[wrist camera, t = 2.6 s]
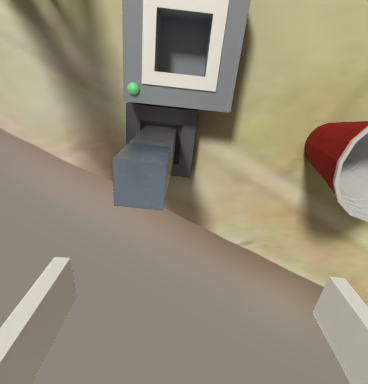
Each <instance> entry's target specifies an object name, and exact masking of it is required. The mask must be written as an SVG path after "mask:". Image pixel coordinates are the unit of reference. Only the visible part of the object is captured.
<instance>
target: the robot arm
mask: <svg viewBox="0 0 368 384" xmlns="http://www.w3.org/2000/svg"><path fill="white" fill-rule="evenodd" d="M76 298H77V295H76V289H75V283H74V277H73V271H72V266H71V260H70V258H62V257H54V259H53V260H52V261H51V263H50V264H49V265H48V266H47V268H46V269H45V270H44V272H43V273H42V274H41V275H40V277H39V278H38V279H37V281H36V282H35V283H34V285H33V286H32V287H31V289H30V290H29V291H28V293H27V294H26V295H25V297H24V298H23V299H22V300H21V302H20V303H19V304H18V306H17V307H16V308H15V309H14V311H13V312H12V313H11V315H10V316H9V317H8V319H7V320H6V321H5V323H4V324H3V325H2V326H1V328H0V384H32V383H33V381H34V379H35V377H36V375H37V373H38V371H39V369H40V367H41V365H42V363H43V362H44V359H45V358H46V356H47V354H48V352H49V350H50V348H51V346H52V344H53V342H54V340H55V338H56V336H57V334H58V333H59V331H60V329H61V327H62V325H63V323H64V321H65V319H66V317H67V315H68V313H69V311H70V309H71V307H72V305H73V304H74V302H75V300H76ZM312 314H313V316H314V318H315V320H316V321H317V323H318V325H319V327H320V329H321V331H322V332H323V334H324V336H325V338H326V340H327V342H328V343H329V345H330V347H331V349H332V351H333V353H334V355H335V356H336V358H337V360H338V362H339V364H340V366H341V368H342V369H343V371H344V373H345V375H346V377H347V378H348V380H349V382H350V384H368V307H367V306H366V304H365V303H364V302H363V301H362V299H361V298H360V297H359V296H358V294H357V293H356V292H355V291H354V290H353V288H352V287H351V286H350V285H349V283H348V282H347V281H346V280H345V278H337V277H329V279H328V281H327V283H326V285H325V287H324V290H323V291H322V294H321V296H320V298H319V300H318V302H317V304H316V306H315V308H314V310H313V312H312Z"/></svg>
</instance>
